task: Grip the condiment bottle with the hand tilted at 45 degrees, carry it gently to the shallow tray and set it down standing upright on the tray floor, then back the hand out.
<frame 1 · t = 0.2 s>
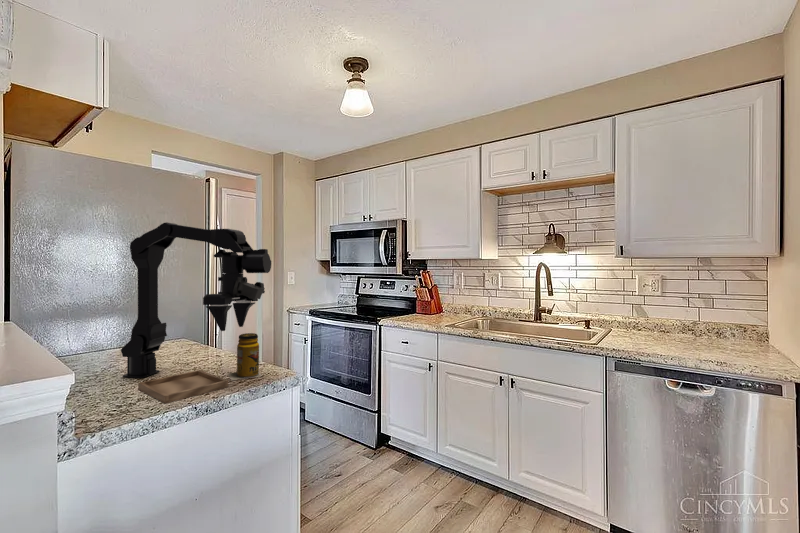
hand: (232, 328, 110), 14 cm above the counter, tool pointing down, fingers open, 9 cm apart
tray: (183, 388, 102), on the counter
condiment: (244, 376, 115), on the counter
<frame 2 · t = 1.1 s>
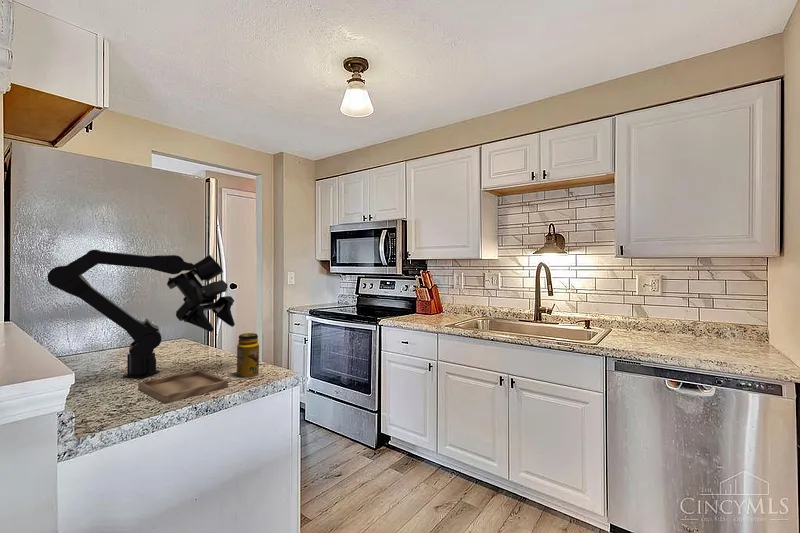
hand: (223, 328, 116), 13 cm above the counter, tool tilted 45°, fingers open, 9 cm apart
nothing on the counter moved.
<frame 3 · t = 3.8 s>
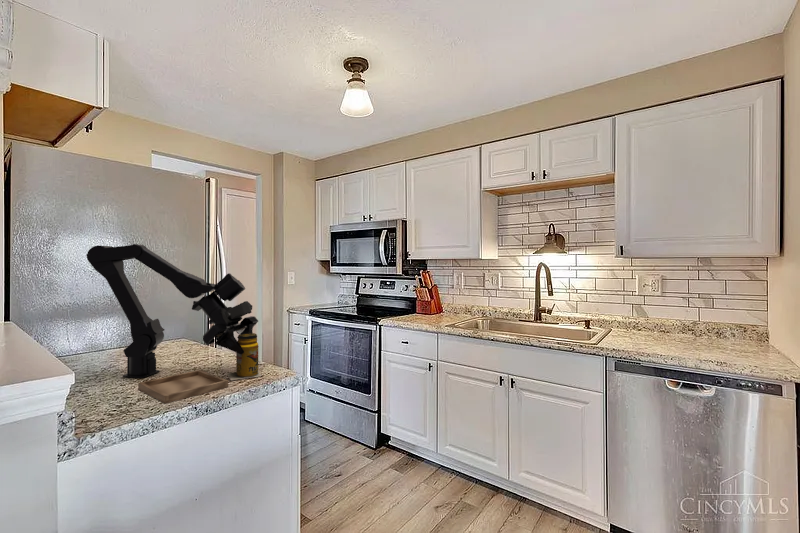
hand: (249, 350, 114), 7 cm above the counter, tool tilted 45°, fingers closed on condiment, 6 cm apart
condiment: (244, 375, 114), on the counter, touching gripper
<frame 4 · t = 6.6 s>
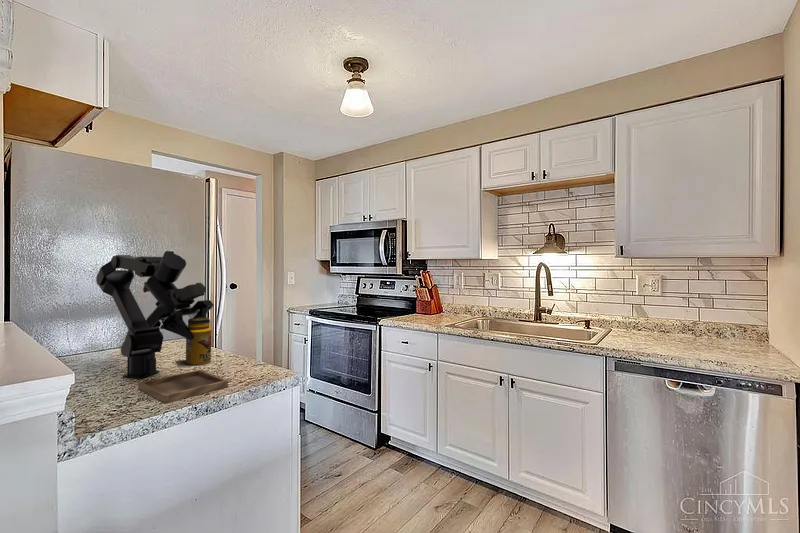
hand: (201, 336, 104), 13 cm above the counter, tool tilted 45°, fingers closed on condiment, 6 cm apart
condiment: (194, 364, 104), point 6 cm above the counter, touching gripper
when the fingers open (8 cm above the counter, at t = 9.0 s): condiment stays where it is, resting on tray.
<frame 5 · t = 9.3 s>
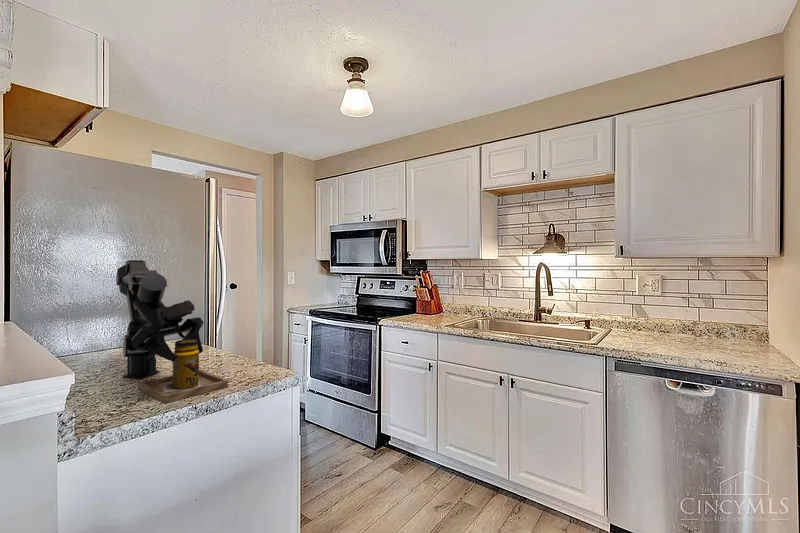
hand: (188, 356, 102), 9 cm above the counter, tool tilted 45°, fingers open, 9 cm apart
condiment: (182, 387, 102), resting on tray
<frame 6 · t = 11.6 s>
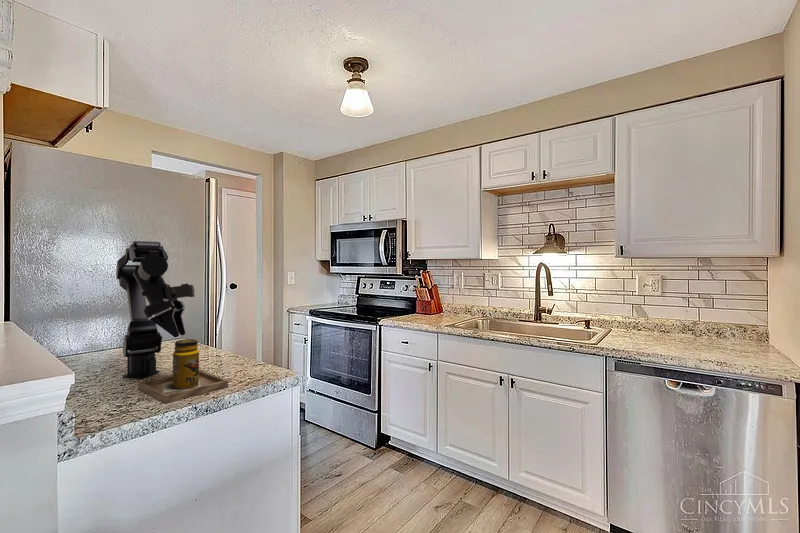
hand: (180, 335, 107), 13 cm above the counter, tool tilted 30°, fingers open, 9 cm apart
nothing on the counter moved.
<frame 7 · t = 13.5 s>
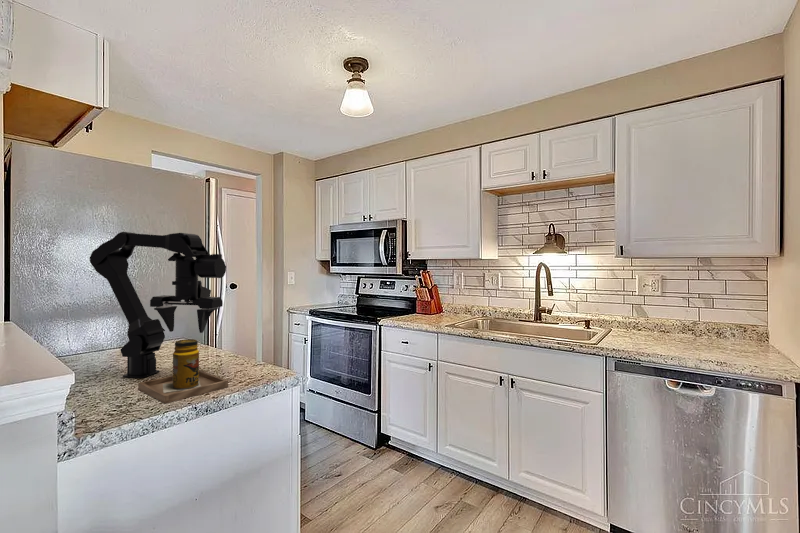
hand: (186, 332, 111), 13 cm above the counter, tool pointing down, fingers open, 9 cm apart
nothing on the counter moved.
at the end: condiment inside the target area on the tray (0.5 cm from its centre), point 0.3 cm above the tray's base; condiment tilted 0°; the gripper is holding nothing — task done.
